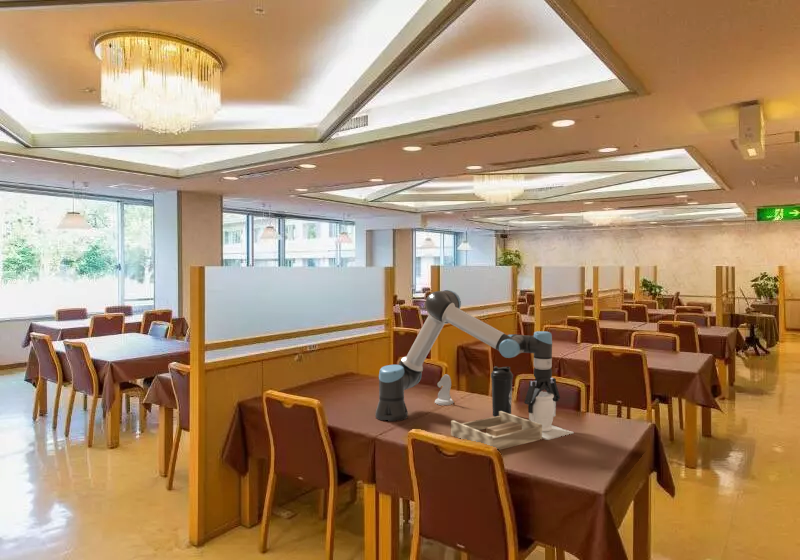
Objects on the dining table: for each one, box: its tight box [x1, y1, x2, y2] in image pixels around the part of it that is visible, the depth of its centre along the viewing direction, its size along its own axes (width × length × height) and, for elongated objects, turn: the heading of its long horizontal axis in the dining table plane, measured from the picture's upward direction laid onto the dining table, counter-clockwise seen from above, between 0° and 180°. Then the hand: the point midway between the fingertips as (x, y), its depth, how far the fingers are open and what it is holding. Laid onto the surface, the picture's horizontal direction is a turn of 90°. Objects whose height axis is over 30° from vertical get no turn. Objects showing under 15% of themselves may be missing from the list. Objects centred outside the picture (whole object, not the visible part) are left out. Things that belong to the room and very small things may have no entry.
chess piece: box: [434, 373, 454, 406], centre depth 271 cm, size 10×10×15 cm
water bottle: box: [490, 365, 514, 417], centre depth 248 cm, size 10×10×23 cm
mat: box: [542, 424, 575, 441], centre depth 225 cm, size 20×16×1 cm
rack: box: [450, 411, 543, 451], centre depth 216 cm, size 24×28×6 cm
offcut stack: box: [485, 422, 522, 437], centre depth 212 cm, size 6×18×6 cm, turn 125°
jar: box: [531, 391, 554, 432], centre depth 225 cm, size 11×10×15 cm
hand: (542, 418), depth 225 cm, fingers open, 12 cm apart
